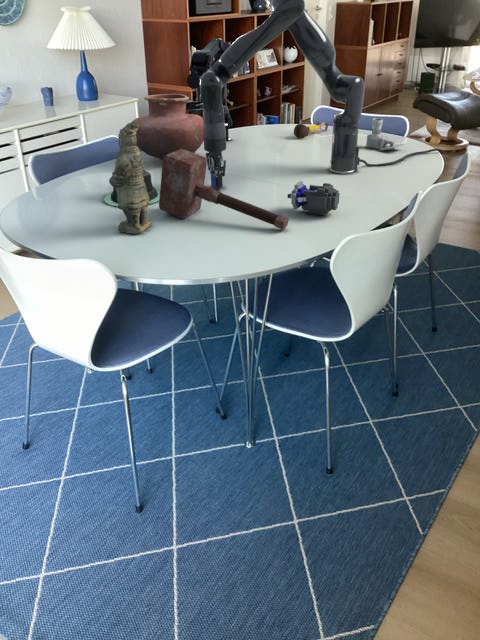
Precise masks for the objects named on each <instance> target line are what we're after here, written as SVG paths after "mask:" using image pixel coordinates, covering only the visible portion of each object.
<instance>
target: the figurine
mask: <svg viewBox="0 0 480 640" xmlns="http://www.w3.org/2000/svg"><path fill="white" fill-rule="evenodd" d="M302 122H303V120H302V119H300V120H299V123H298V124H296V125H295V126H294V129H293V135H294V137H295V138H297V139H304V138H307V137H308V136H309V134H310V133H318V132H319V130H321V131H327V130H328V128H329V123H327V122H326V123H325V121H323V122H321V123H320V122H319V121H318V122H317V123H316V124H315V123H314V124H310V125H308V126H307V125H306V124H304V123H302Z"/></svg>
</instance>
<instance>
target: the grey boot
mask: <svg viewBox="0 0 480 640" xmlns="http://www.w3.org/2000/svg"><path fill="white" fill-rule="evenodd" d="M383 123H384V119H383V118H380V117H376V118H375V117H374V118H372V121H371V125H372V129H371V133H370V134H367V136H366V144H365V148H369V149H375V150H380V151H388V150H396V149H399V148H400V147H403V146H405V145H406V144H405V143H398V144H397V143H396V140H392V139H390V138H389V137H388V136H387V135H381V134H382V126H383ZM380 151H379V152H380Z"/></svg>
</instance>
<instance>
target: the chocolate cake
mask: <svg viewBox="0 0 480 640" xmlns="http://www.w3.org/2000/svg"><path fill="white" fill-rule="evenodd" d="M113 175H114V171H112V173H111V176H113ZM143 178H144V182H145V184H146V188H147V192H148V195H149V197H150V204H154V203H157V202H159V198H160V188H156V187H154V185H153V182H152V174H151V172H149V171H148V170H146V169H144V168H143ZM103 200H104V202H105V203H106V204H108V205H109V206H115V207H118V202H117V192H116V189H115V188H114V187H112V191H111V193H108V194H107V195H106V196H104V198H103ZM150 204H149V205H150Z"/></svg>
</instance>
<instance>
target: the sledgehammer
mask: <svg viewBox="0 0 480 640" xmlns="http://www.w3.org/2000/svg"><path fill="white" fill-rule="evenodd" d="M207 167H208V164H207V158H206V156H203V155H200V154H197V153H196V152H195V153H192V152H190V151H187V150H184V149H179V150H177V151H174V152H172V153H170V154H167V155H165V156H164V158H163V160H162V167H161V176H160V187H159V190H160V198H159V200H158V208H159V210H160V211H162V212H165V213H168V214H170V215H173V216H174V217H177V218H180V219H182V220H185V219H187V218H188V217H190V216H192V215H193V214H195V213H197V212H198V211H199V210H200V209H201V207H202V201H203V200H204V201H207V202H209V203H213V204H215V205H220V206H223V207H225V208H228V209H231V210H233V211H236V212H239V213H241V214H243V215H245V216H248V217H252V218H255V219H257V220H260V221H262V222H264V223H267V224H270V225H273V226H274V228H276V229H280V230H282V231H285V230H286V228H287V227H288V224H289V221H290V218H289V217H288V216H286V215H283V214H281V213H279V214H277V213H275V212H273V211H269V210H267V209H265V208H262V207H259V206H256V205H254V204H251V203H248V202H246V201H244V200H242V199H238V198H236V197H233V196H231V195H228V194H225V193H223V192H222V191H220V190H218V189H214V188H211V186H208V185H205V181H206V175H207Z"/></svg>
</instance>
